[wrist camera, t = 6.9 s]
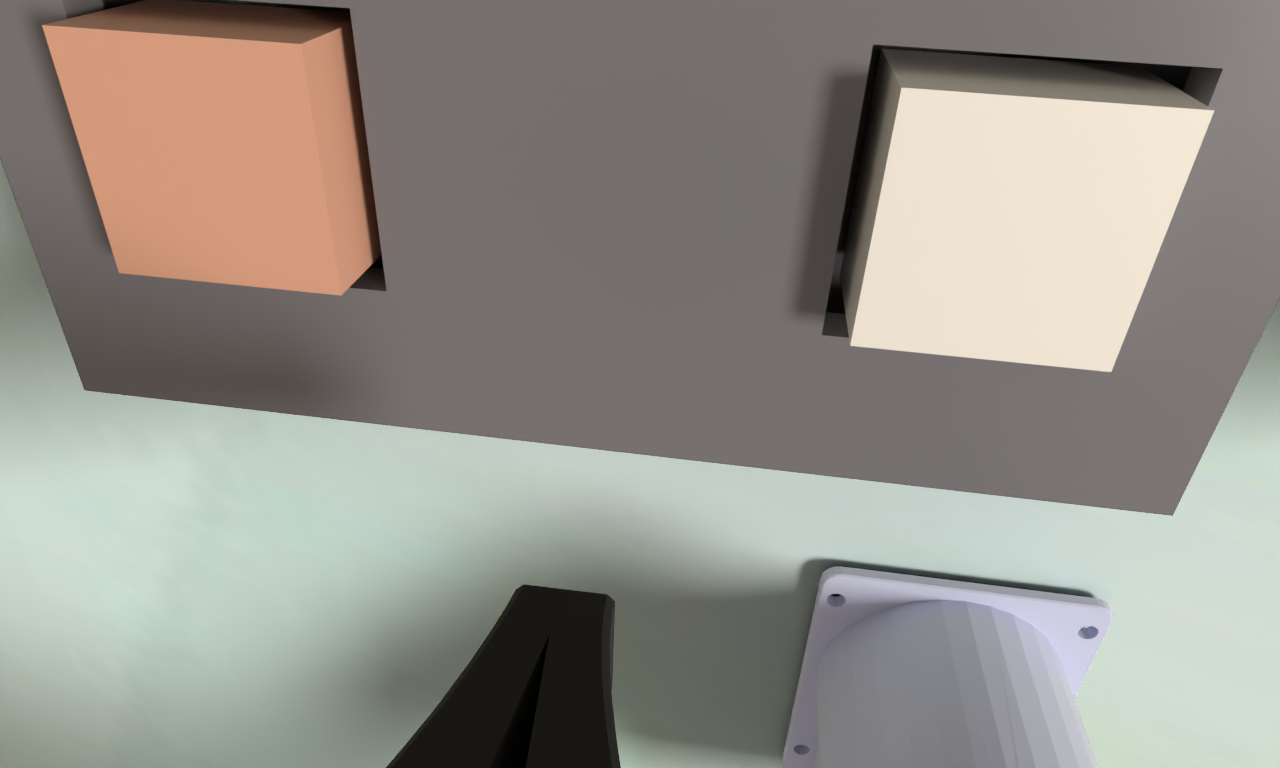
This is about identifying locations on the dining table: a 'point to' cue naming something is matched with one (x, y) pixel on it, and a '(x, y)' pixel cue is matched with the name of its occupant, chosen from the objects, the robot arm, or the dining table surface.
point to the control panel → (682, 243)
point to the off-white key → (1012, 205)
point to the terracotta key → (223, 141)
